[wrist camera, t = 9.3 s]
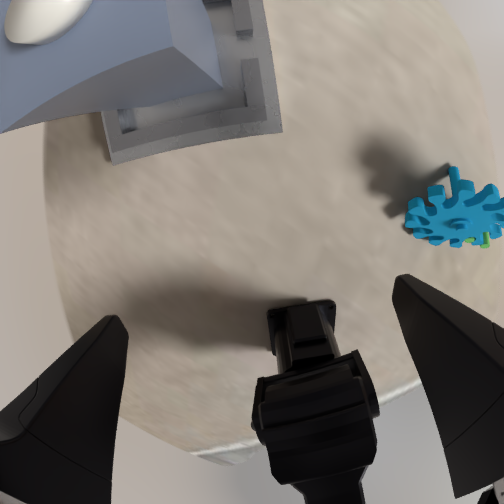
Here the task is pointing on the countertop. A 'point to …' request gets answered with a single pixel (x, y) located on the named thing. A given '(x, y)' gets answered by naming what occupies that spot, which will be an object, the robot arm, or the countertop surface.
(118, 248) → the countertop surface
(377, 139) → the countertop surface
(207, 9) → the grey square tray
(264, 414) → the robot arm
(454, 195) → the gear
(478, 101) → the countertop surface
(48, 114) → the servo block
